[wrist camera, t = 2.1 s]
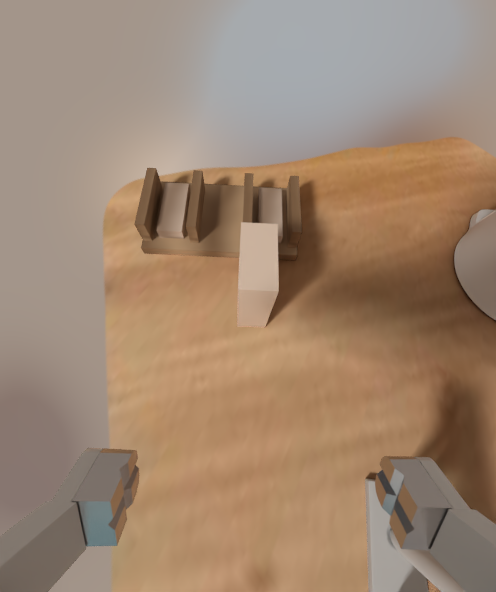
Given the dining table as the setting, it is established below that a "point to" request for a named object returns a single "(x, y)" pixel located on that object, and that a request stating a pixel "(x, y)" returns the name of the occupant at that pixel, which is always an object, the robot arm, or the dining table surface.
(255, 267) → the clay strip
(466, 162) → the dining table surface
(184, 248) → the slotted holder block
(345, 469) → the dining table surface
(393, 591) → the test tube rack
